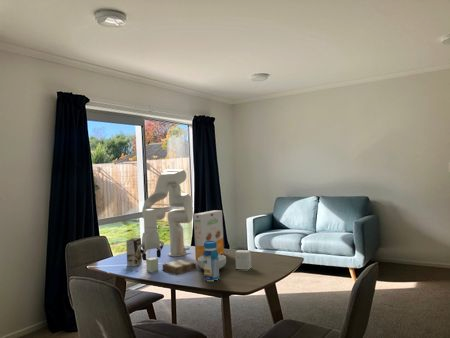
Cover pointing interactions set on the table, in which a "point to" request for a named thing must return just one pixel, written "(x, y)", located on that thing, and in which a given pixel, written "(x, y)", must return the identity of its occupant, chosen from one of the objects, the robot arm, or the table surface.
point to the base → (179, 266)
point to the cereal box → (208, 231)
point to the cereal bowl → (221, 261)
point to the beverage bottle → (211, 261)
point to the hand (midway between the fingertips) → (151, 258)
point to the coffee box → (133, 252)
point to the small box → (243, 259)
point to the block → (152, 264)
